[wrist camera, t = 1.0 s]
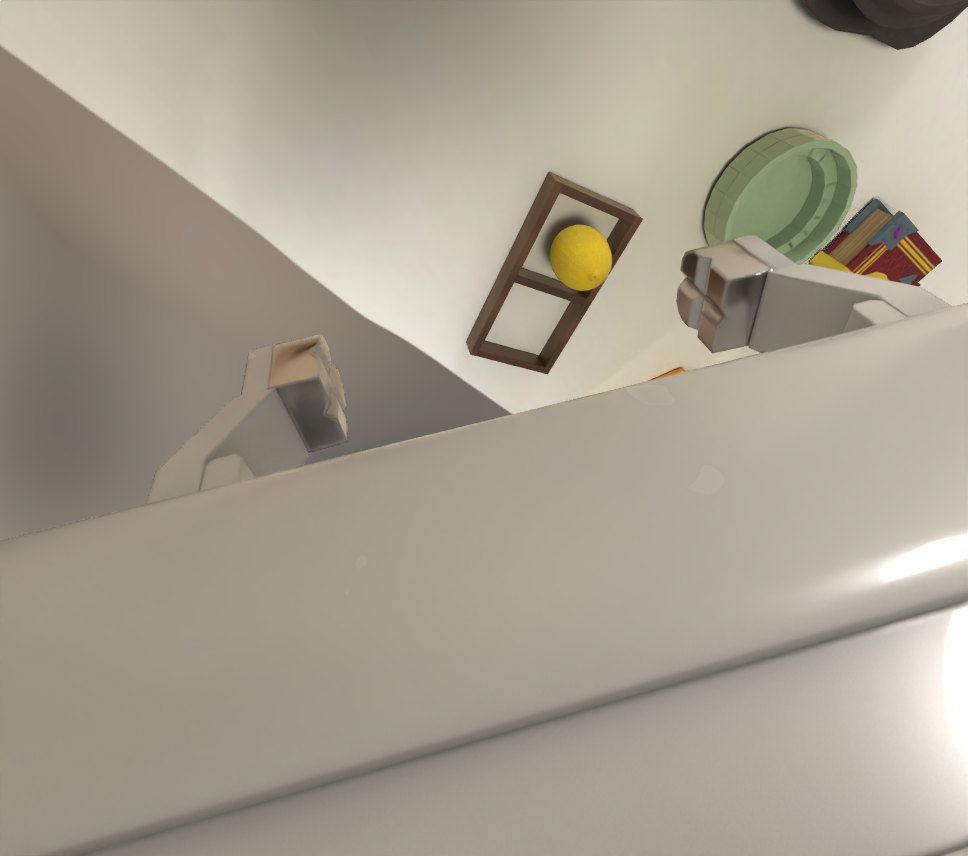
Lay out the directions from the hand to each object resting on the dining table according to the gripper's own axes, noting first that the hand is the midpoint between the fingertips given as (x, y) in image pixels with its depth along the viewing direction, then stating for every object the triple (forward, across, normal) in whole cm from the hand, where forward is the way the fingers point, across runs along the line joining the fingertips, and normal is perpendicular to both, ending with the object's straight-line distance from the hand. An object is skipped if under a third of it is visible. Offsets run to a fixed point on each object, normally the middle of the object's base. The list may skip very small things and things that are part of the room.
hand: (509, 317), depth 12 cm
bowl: (+39, -35, +19) cm, 56 cm away
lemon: (+40, -14, +19) cm, 46 cm away
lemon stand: (+39, -12, +22) cm, 47 cm away
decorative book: (+40, -48, +31) cm, 69 cm away
